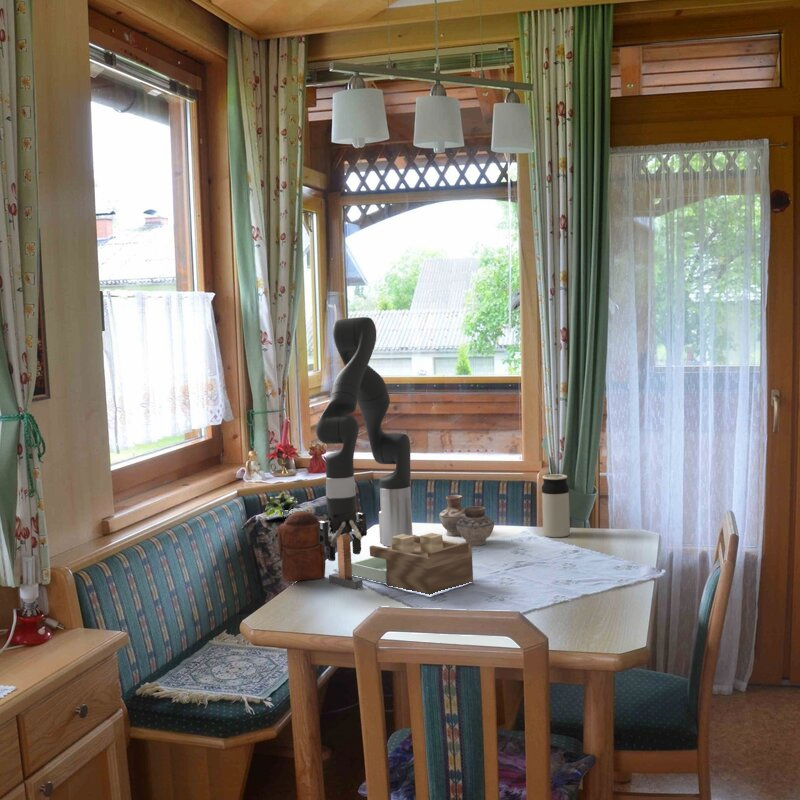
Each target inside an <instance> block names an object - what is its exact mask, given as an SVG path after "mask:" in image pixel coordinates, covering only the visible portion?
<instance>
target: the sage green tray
mask: <svg viewBox="0 0 800 800" xmlns="http://www.w3.org/2000/svg"><path fill="white" fill-rule="evenodd" d="M351 565H352V575H353V576H358V577H362V578H365V579H369V580H373V581H376V582H381V583H386V584H387V570H386V559H381V558H377V557H372V556H371V557H369V558H364V559H362V560H358V561H354V562H351Z"/></svg>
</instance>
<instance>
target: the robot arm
mask: <svg viewBox="0 0 800 800" xmlns="http://www.w3.org/2000/svg"><path fill="white" fill-rule="evenodd" d="M332 335H333V336H332V337H333V340H334V341H333V342H334V344H335V347H336V350H337V352H338V355H339V356H340V359H341V361H342V362H343V365H344V367H343V368H342V369H341V370H340V371H339V373H338V374H337V376H336V378H335V379H334V380H333V385H332V388H331V393H330V398H329V401H328V403H327V405H326V406H325V408H324V410H323V412H322V413H321V414H320V417H319V418H318V421H317V424H316V430H315V431H316V436H317V439H318V440H319V441H320V442H321V443H323V444H326V445H328V444H329V445H331V444H334V445H335V444H340V445H341V444H343V447H342V449H341V450H340V451H336V452H331V453H328V454H327V455H325V456H326V457H325V476H326V477H325V478H326V479H325V495H326V512H327V514H328V520H319V521H318V531H319V544H321V545H323V546H324V547H325V555H326V559H327V560H328V561H330V562H334V561H336V546H335V543H337V539H338V538H339V536H340V535H343V534H349V535H350V537H352V539H351V542H352V544H351V545H352V554H354V555H360V554H361V551H362V538H364V537H367V535H368V529H367V528H368V527H367V515H366V513H365V512H357V493H356V492H357V491H356V480H355V473H354V472H355V470H354V469H355V468H354V467H355V466H354V459H355V458H354V456H355V449H356V445H357V440H358V436H359V431H360V427H359V423H358V420H357V419H356V417H354V416H352V414H353V413H355V410H356V408H357V405H358V408H359V410H360V413H361V415H362V419H363V422H364V425H365V429H366V433H367V437H368V441H369V444H370V449H371V454H372V456H373V459H374V461H375V462H376V463H378V464H379V465H395V466H396V467H395V470H394V471H393V472H392V473H389V474H387V475H383V476H381V477H380V478H379V482H378V485H379V498H380V499H379V501H380V510H379V512H378V525H379V526H378V527H379V530H378V531H379V543H380V544H382V545H383V546H386V547H391V546H392V537H394V536H398V535H401V534H405V535H410V536H411V535H413V517H412V515H413V514H412V498H411V497H412V495H411V494H412V493H411V440H410V437H409V436H408V435H407V433H401V432H400V433H394V432H393V433H385V432H384V431H383V429H382V423H383V421H384V418H385V416H386V414H387V413H388V411H389V410H388V409H389V406H390V404H391V403H390V402H391V401H390V400H391V399H390V394H389V391H388V387H387V385H386V381H385V380H384V378H383V377H382V376H381V375H380V374H379V373H378V372H377V371H376V370H375V369H374V368H372V367H371V366H370V365H369V363H370V360H371V358H372V354H373V353H374V350H375V346H376V342H377V328H376V325H375V322H374V320H373V318H371V317H368V316H361V317H351V318H350V317H348V318H340V319H337V320H336V321H335V322H334V323H333V325H332Z"/></svg>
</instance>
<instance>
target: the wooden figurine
mask: <svg viewBox="0 0 800 800" xmlns="http://www.w3.org/2000/svg"><path fill="white" fill-rule="evenodd" d="M318 520H319V519H318V518H317V516H316V515H315V514H313V512H310V511H307V510H298V511H294V512H292V514H291V515H287V517H286V519H285V521H283V522H282V523H281V524H280V525H279V526H278V527H277V546H278V549H277V550H278V555H279V558H280V559H281V566H280V569H281V579H282V581H283V582H301V581H309V580H310V581H311V580H318V579H323V578H325V574H326V549H325V545H321V544H319V531H318V522H319V521H318ZM300 580H301V581H300Z"/></svg>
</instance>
